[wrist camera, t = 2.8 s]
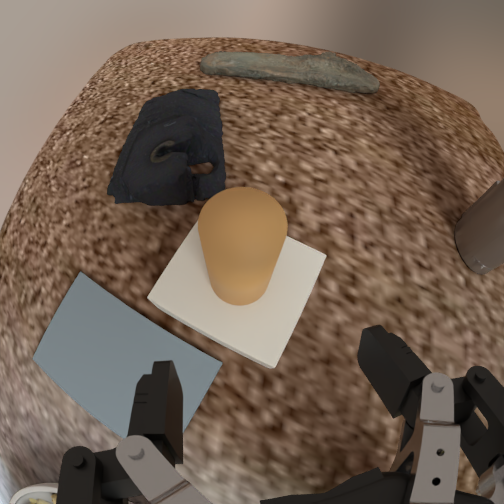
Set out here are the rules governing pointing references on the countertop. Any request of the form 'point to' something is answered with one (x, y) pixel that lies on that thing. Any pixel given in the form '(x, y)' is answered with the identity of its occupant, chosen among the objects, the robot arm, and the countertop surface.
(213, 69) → the long grey stone
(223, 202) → the tan rounded cylinder
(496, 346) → the countertop surface
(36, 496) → the bowl
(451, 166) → the countertop surface
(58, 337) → the mat
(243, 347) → the white square block
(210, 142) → the black flat bumpy piece
